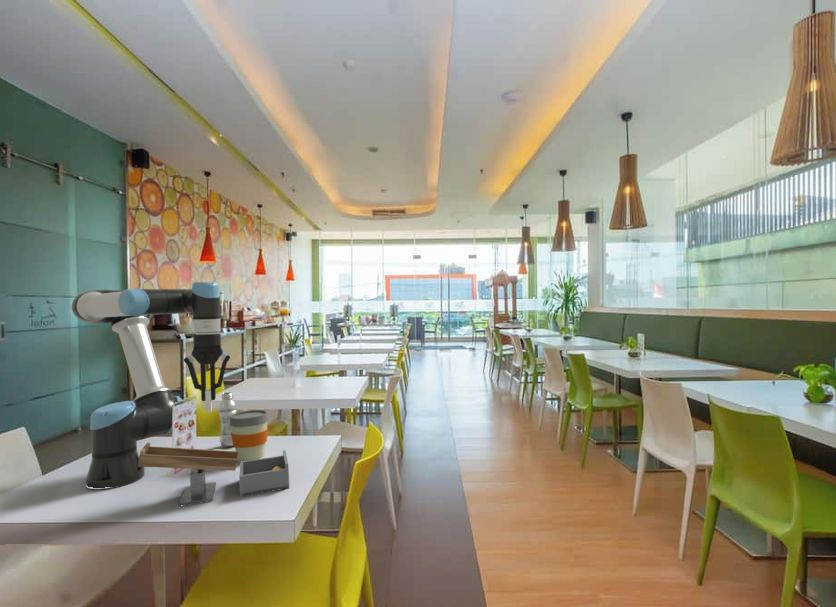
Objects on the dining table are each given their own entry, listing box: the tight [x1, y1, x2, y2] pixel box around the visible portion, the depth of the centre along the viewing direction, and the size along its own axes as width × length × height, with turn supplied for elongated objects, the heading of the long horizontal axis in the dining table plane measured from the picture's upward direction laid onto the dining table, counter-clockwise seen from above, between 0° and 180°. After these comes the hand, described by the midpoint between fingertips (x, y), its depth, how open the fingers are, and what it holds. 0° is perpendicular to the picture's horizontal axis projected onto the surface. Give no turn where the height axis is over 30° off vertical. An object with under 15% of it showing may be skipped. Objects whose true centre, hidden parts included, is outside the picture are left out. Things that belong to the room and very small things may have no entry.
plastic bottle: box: [217, 391, 238, 448], centre depth 171 cm, size 6×7×20 cm
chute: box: [137, 442, 238, 474], centre depth 129 cm, size 17×24×5 cm
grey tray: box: [238, 450, 290, 497], centre depth 132 cm, size 13×13×7 cm
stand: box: [178, 469, 217, 507], centre depth 127 cm, size 12×8×7 cm, turn 20°
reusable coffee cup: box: [230, 409, 269, 462], centre depth 157 cm, size 13×12×15 cm
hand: (208, 411), depth 137 cm, fingers closed
